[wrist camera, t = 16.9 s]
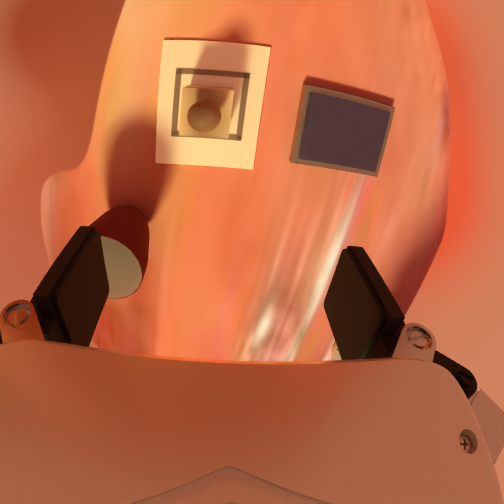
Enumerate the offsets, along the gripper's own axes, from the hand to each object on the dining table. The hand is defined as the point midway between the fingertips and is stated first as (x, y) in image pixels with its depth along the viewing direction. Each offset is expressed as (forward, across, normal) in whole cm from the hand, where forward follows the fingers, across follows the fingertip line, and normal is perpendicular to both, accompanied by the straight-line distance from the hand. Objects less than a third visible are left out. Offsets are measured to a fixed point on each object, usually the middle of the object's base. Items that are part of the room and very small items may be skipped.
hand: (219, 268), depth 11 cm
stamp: (+23, +2, -3) cm, 24 cm away
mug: (+24, +11, +13) cm, 29 cm away
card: (+24, +2, -3) cm, 24 cm away
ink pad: (+24, -13, -2) cm, 27 cm away
